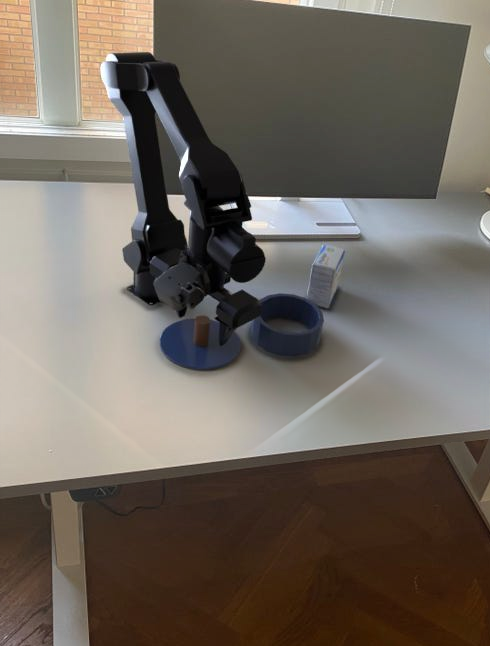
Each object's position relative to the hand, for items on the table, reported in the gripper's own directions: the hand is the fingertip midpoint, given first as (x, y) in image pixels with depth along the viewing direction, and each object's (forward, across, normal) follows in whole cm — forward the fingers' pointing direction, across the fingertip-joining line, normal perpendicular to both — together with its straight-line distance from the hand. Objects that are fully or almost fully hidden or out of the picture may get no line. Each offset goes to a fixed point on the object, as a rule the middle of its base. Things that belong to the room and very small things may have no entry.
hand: (201, 330), depth 114 cm
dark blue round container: (+3, +7, +13) cm, 15 cm away
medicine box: (+4, +3, +28) cm, 28 cm away
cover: (+3, 0, 0) cm, 3 cm away
